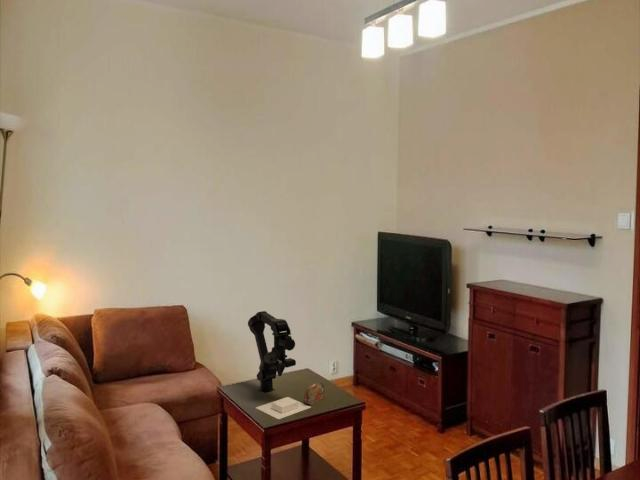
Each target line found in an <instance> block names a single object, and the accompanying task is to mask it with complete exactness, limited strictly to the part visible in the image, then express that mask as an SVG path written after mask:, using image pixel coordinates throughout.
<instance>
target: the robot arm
mask: <svg viewBox="0 0 640 480" xmlns="http://www.w3.org/2000/svg"><path fill="white" fill-rule="evenodd" d="M266 325H268V326H269V327H270V330H271V331H272V333H271V334H272V336H273V347H271V351H269V350H268V347H267V346H268V345H267V340H266V338H265V333H264V331H265V328H266ZM247 326H248V328H249V330H250V333H252V334H253V335H254V339H255V343H256V347H257V352H258V356H259V359H260V360H259V361H260V364H259V366H258V370H259V371H258V372H257V374H256V380H257V381H259V382H260V383H259V384H260V385H259V386H260V388H258V389H257V390H258V391H259V392H262V393H264V394H267V393H270V392H273V391H275V390H276V389H275V388H273V387H274V383H273V380H274V379H276V377H277V375H278V377H281V376H282V375H283V372H285V371H284V370H285V369H286V368H291V367H294V366H296V365H297V362H296V360H295V359H293V358H291V357H289V358H288V354H286V351H289V352H290V351H292V350H294V348H295V346H296V341H295V340H294V338H292V336H291V335H292V332H291V331H292V330H291V328H290V326H289V324H288V322H287V320H286V319H283V318H277V317H274V316H273V315H272V314H270V313H268V312H267V311H266V310H263V311H258V312H256V313H255V314H254V315H253V316H251V317H250V318H249V320H248V321H247Z"/></svg>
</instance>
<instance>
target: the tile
mask: <svg viewBox="0 0 640 480" xmlns="http://www.w3.org/2000/svg"><path fill="white" fill-rule="evenodd" d="M283 398H284V399H282V398H280V399H281V400H280V399H277V400H278V401H277V400H274V401H275V402H274V401H271V402H272V409H274V410H276V411H278V412H280V413H285V412H288V411H291V410H293V409H296V408H298V407H299V402H300V401H298V400H296V399H294V398H292V397H289V396H287V398H285V397H283ZM291 398H292V399H291ZM293 399H294V400H293Z"/></svg>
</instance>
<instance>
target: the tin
mask: <svg viewBox="0 0 640 480" xmlns="http://www.w3.org/2000/svg"><path fill="white" fill-rule="evenodd" d="M324 394H325V386H324V384H323V382H315V383H313V384H312V385H310V386H309V387H307V388H306V390H305V391H304V402H305V405H309V406H310V405H311V406H312V405H313V404H314V403H316V402H319V400H322V399H323V397H324Z"/></svg>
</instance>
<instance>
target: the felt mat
mask: <svg viewBox="0 0 640 480" xmlns="http://www.w3.org/2000/svg"><path fill="white" fill-rule="evenodd" d="M287 397H288V396H287ZM287 397H286V396H285V397H282V398H280V399H277V400H274V401H270V402H268V403H265V404H261V405H259V406H256V407H255V409H256V410H259V411H261V412H263V413H265V414H267V415H269V416H271V417H273V418H275V419H277V420H281V419H283V418H286V417H289V416H293V415H294V414H297V413H299V412H300V413H301V412H303V411H306V410H308V409H311V408H312V406H310V405H309V404H306V403H303V402H301V401H298V402H299V407H298V408H296V409H293V410H291V411H288V412H285V413H280V412H278V411H276V410H274V409H272V402H275V401H278V400H281V399H284V398H287ZM290 398H291V399H293V400H295V399H294V398H292V397H290Z"/></svg>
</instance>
